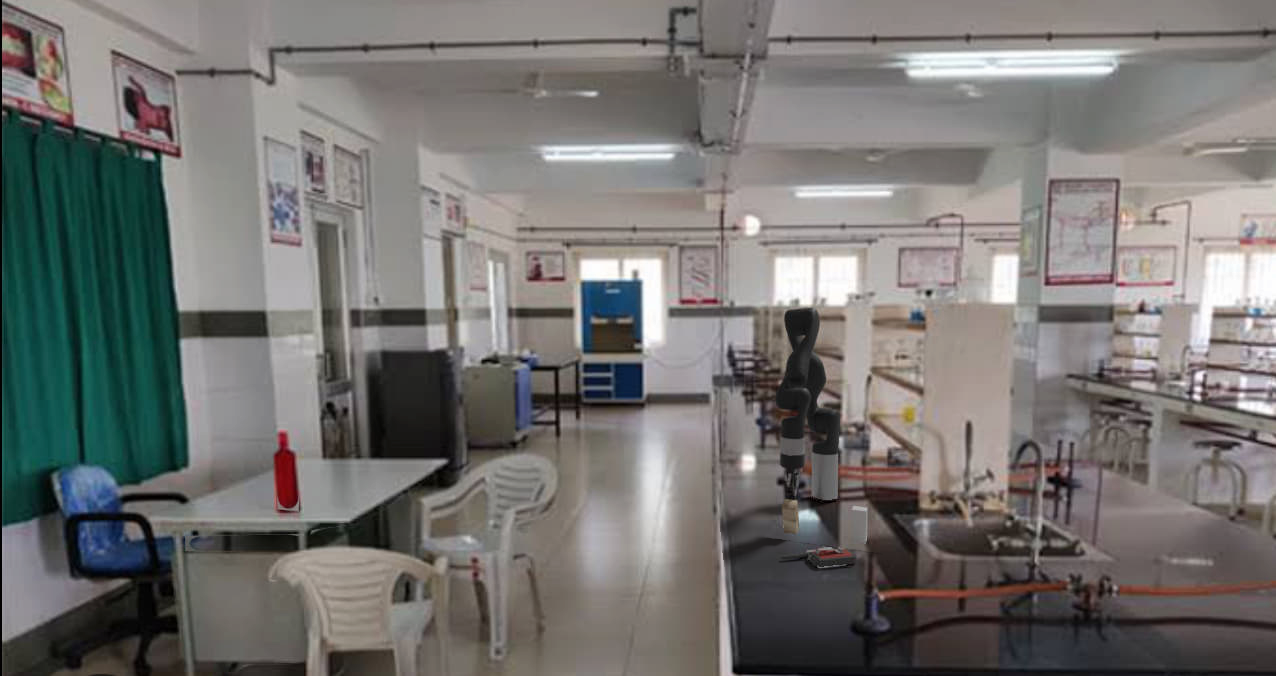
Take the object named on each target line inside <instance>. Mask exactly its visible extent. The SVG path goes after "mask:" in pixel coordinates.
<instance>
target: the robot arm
mask: <svg viewBox="0 0 1276 676" xmlns="http://www.w3.org/2000/svg"><path fill="white" fill-rule="evenodd" d="M819 314H820V313H819V312H818V310H817V309H816V308H815V307H802V308H801V307H800V308H794V309H793V308H792V309H788V310H786V311H785V313H784V317H783V318H784V319H783V320H784V321H783V322H784V327H785V331H786V335H787V337H788V341H789V344H790V346H791V349H792V352H791V353H790V355H789V356H788V359H787V361H786V365H785V371H784V376H783V379H782V381H781V383H780V385H779V386H778V388H777V390H776V393H775V399H774V402H775V405H776V407H777V408H778V409H779V410H784V411H785V410H786V411H798V412H797V414H796V415H794V416H788V417H787V416H786V417H784V418H782V419H781V421H780V423H781V424H780V442H779V465H780V467H782V468H783V469H784V468H785V469H786V472H785V473H784V482H783V483H784V490H785V495H787V499H789V500H797V494H798V491H799V485H800V484H799V483H800V477H801V474H800V472H799V470H801V469H804V468H805V466H806V465H805V464H806V443H805V423H806V421H807V426H808V428H809V430H810V432H812V433H815V434H821V435H823V434H824V435H826V439H824V440H821V441H817V442H814V443H812V445H811V497H812V496H813V497H815V498H818V499H822V500H832V499H837V498H839V497H838V495H839V494H838V492H839V491H838V490H839V481H838V480H839V446H840V445H839V444H840V431H841V430H840V429H841V414H840V412H839V411H838V410H837V409H834V408H833V409H832V408H824V407H823V408H822V407H819V406H818V399H819V396H820V395H821V393H822V391H823V389H824V387H825V385H826V383H827V375H826V369H825V366H824V362H823V361H822V359H821V358H820V357H819V356H818V355H817V354H816V353H815V352H814V348H815V345H816V342H817V339H818V335H819V331H820V326H821V325H820V323H821V322H820V315H819ZM802 337H803V338H802Z"/></svg>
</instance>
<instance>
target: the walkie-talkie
mask: <svg viewBox="0 0 1276 676" xmlns="http://www.w3.org/2000/svg"><path fill="white" fill-rule="evenodd" d="M806 557H809V558H806ZM798 558H799V559H800V558H803V559H806V560H807V559H808V560H811V561H812V566H814V567H817V565H818V566H819V567H824V566H833V565H843V564H854V565H856V564H857V555H856V553H855V552H854V551H853V550H849V549H847V548H846V549H841V548H840V547H838V548H832V547H825V546H823V547H817V548H816V549H811V550H810V549H809V550H808V549H807V550H806V551H805V552H803V553H795V554H783V555H781V560H788V559H798ZM808 560H807V561H808ZM855 563H856V564H855Z"/></svg>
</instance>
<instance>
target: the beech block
mask: <svg viewBox="0 0 1276 676" xmlns="http://www.w3.org/2000/svg"><path fill="white" fill-rule="evenodd" d="M782 502H783V503H782V504H781V512H782V513H781V515H782V525H783V528H784V533H792V534H797V533H798V530H799V527H800V517H799V503H798V502H799V501H798V500H797V499H796V500H789V499H788V498H784V499H783V501H782Z"/></svg>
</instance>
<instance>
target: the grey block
mask: <svg viewBox="0 0 1276 676" xmlns="http://www.w3.org/2000/svg"><path fill="white" fill-rule="evenodd" d="M851 534H852V542H858V543H864V544H866V541H867V536H868V507H866V506H865V507H864V506H858V505H853V506H852V509H851Z"/></svg>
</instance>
